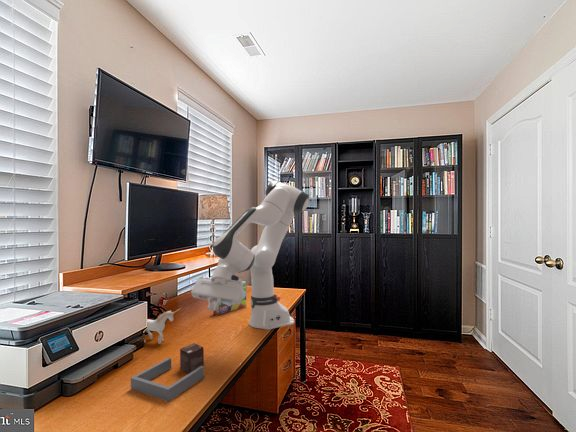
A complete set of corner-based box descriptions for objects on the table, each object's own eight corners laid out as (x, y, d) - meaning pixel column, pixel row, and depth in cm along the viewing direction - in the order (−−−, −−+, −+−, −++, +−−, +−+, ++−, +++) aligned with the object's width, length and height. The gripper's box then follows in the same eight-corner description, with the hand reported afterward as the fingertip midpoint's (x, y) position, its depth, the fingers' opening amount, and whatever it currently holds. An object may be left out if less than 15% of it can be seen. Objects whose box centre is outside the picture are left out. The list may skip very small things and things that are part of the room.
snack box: (219, 315, 169) (219, 288, 169) (212, 314, 172) (212, 287, 172) (247, 306, 186) (246, 281, 186) (240, 304, 189) (240, 280, 189)
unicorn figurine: (177, 344, 132) (176, 312, 132) (130, 346, 130) (129, 314, 130) (182, 337, 139) (181, 307, 139) (137, 339, 138) (137, 309, 138)
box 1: (168, 367, 111) (168, 357, 111) (204, 376, 104) (204, 366, 104) (130, 389, 97) (130, 377, 97) (168, 401, 90) (168, 389, 90)
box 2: (194, 362, 114) (194, 342, 114) (204, 367, 110) (204, 346, 110) (179, 369, 110) (179, 348, 110) (189, 374, 106) (189, 353, 106)
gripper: (197, 271, 127) (183, 301, 117) (245, 278, 125) (235, 309, 115) (199, 280, 131) (187, 309, 122) (246, 287, 129) (237, 317, 119)
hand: (211, 309), depth 118 cm, fingers closed
